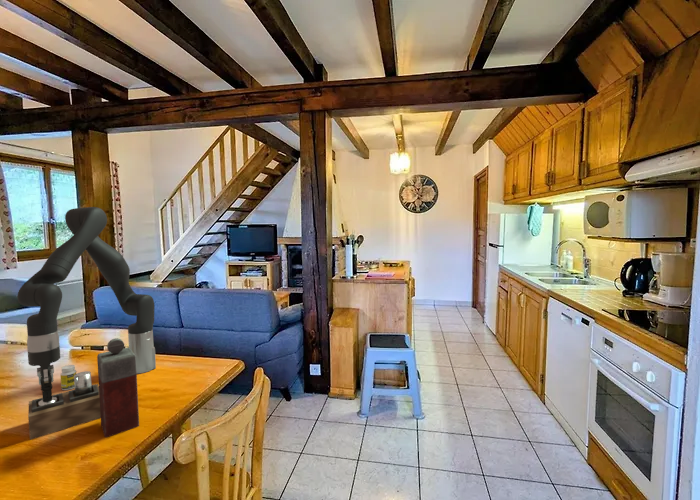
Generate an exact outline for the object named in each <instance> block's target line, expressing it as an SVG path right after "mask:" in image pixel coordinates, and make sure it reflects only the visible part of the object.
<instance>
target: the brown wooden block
mask: <svg viewBox="0 0 700 500" xmlns="http://www.w3.org/2000/svg"><path fill="white" fill-rule="evenodd" d="M91 386H92V393H88V394H84V395H81V396H77V397H76V396H75V389H70V390H67V391H65V392H59V393H56V394H52V397H56V398H57V402H54V403H50V404H47V405H43V406H39V405H38V402H39V401H41V400H43V397H40V398H37V399H36V398H35V399H32V400H30V401H28V411H27V413H28V415H27V416H28V417H27V419H28V430H29V431H28V432H29V440H33V439H37V438H40V437H43V436H47V435H49V434H53V433H57V432H60V431H62V430H66V429H70V428H73V427H75V426H78V425H82V424H85V423H86V424H87V423H89V422H93V421H95V420H98V419H101V414H100V397H99V383H96V384H91Z"/></svg>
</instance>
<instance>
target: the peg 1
mask: <svg viewBox="0 0 700 500" xmlns="http://www.w3.org/2000/svg"><path fill="white" fill-rule="evenodd" d="M54 402H57V398H56V397H52V400H51V401H47V402H43V400H41V401H39V402H38V405H39V406H43V405H47V404H50V403H54Z"/></svg>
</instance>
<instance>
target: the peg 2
mask: <svg viewBox="0 0 700 500" xmlns="http://www.w3.org/2000/svg"><path fill="white" fill-rule="evenodd" d="M91 375H92V373H91V371H90V370H89V371H88V370H87V371H86V370H84V371H80V372H76V374H75V375H74V384H75V388H74V390H75V396H76V397H77V396H81V395H84V394H88V393H92V386H91V385H92V376H91Z"/></svg>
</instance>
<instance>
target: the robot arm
mask: <svg viewBox="0 0 700 500" xmlns="http://www.w3.org/2000/svg"><path fill="white" fill-rule="evenodd" d="M64 216H65V217H64V219H65V223H66V226H67V228H68V229H69V231H70V232H71V233H72V234H73V236H71V237H70V238H69V239H67V240H66V241H65V242H64V243H62V244H61V245H60V246H58V247H57V248H56V249H54V250H53V252H52V253H51V254H49V257H47V259H46V261H44V264H42V267H41V269H39V270H38V271H37V272H35V273H34V274H33V275H32V276H31V277H30V278H29V279H28V280H27V281H26V282H24V283H23V284H22V285H21V286H20V288H19V289H18V292H17V295H16V296H17V301H18V303H19V304H20V305H22V306H24V307H30V308H31V307H34V308H35V307H37V308H38V307H39V311H38V313H35V314H32V315H30V316H29V317H27V319H26V332H27V338H26V339H27V340H26V347H27V348H26V350H27V361H28V362H27V363H28V365H29V366H32V367H36V374H37V375H36V376H37V377H38V385H40V390H41V394H42V398H43V402H47V401H51V400H52V395H53V383H54V372H55V368H54V364H53V363H56V362H57V361H60V360H61V346H60V335H59V332H58V320H57V319H58V315H59V312H60V307H61V305H62V301H63V292H62V290H61V288H60V286H59V285H57V284H58V283H62V282H64V281H65V280H66V279H67V278H68V276H69V275H70V273H71V271H72V269H73V268H74V266H75V265H76V263H77V261H78V260H79V258H80V257H81V256H82V254H83V253H85V251H86V252H87V253H88V255H89V256H90V258H91V259H92V261H93V262H94V264H95V265H96V267H97V268H98V271H100V273H101V275H102V276H103V278H104V279H105V281H106V282H107V284H108V286H109V287H110V289H111V290H112V292H113V294H114V295H115V297H116V300H117V302H118V304H119V306H120V308H121V309H122V311H123V312H124V314H126V315H128V316H133V317H134V316H135V317H136V321H135V322H133V323H132V324H129V325H128V327H127V336H128V348H130V349H131V350H132V352H133V353H134V354H135V356H136V371H137V375H138V374H145V373H147V372H150V371H152V370H154V369H157V366H156V362H157V361H156V348H155V346H154V332H153V331H154V328H153V327H154V324H155V300H154V298H153V296H152V295H150V294H140V293H139V294H138V293H136V292H135V291H134V289H133V288H132V287H131V284H130V281H129V280H130V273H131V269H130V266H129V264H128V262H127V261H126V259H125V258H124V256H123V254H122V253H120V251H119V250H117V249H115V248H114V247H113V246H112V245H110V244H108V243H106V241H104V240H102V238H100V237H99V236H100V234H101V233H102V232H103V230H104V229H105V228H106V226H107V224H108V217H107V214H106V212H105V211H104V210H103V209H102V208H100V207H96V206H88V207H87V206H86V207H76V208H71V209H68V210H67V212H65V214H64ZM37 366H39V367H37Z"/></svg>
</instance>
